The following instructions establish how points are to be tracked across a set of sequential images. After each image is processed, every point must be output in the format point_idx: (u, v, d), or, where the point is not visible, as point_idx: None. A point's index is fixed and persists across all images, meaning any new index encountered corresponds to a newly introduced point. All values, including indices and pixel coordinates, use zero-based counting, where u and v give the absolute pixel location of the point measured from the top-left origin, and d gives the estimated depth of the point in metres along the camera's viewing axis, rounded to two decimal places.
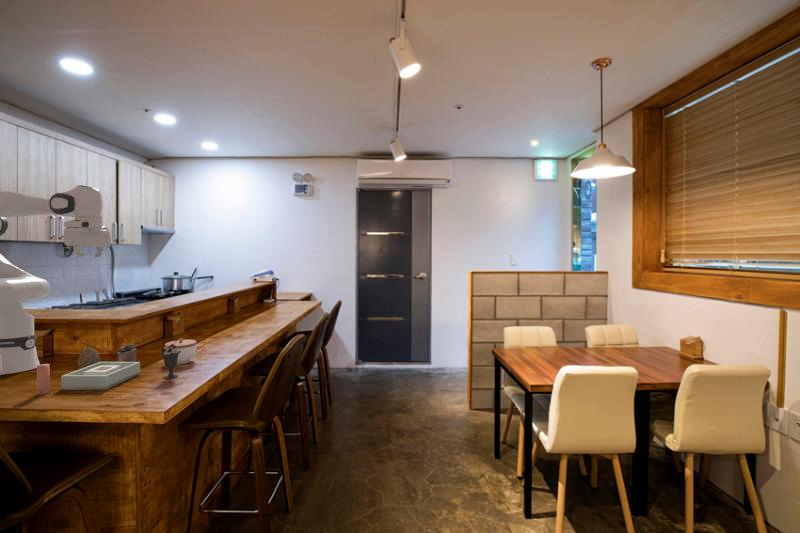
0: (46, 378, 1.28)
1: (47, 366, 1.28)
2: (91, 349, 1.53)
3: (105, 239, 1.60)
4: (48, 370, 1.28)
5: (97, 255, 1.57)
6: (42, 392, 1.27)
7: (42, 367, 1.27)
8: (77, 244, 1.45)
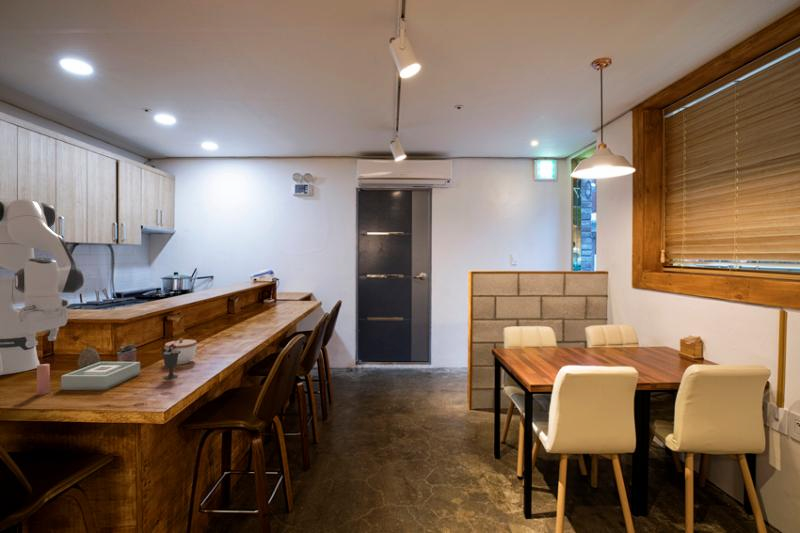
0: (46, 378, 1.28)
1: (47, 366, 1.28)
2: (91, 349, 1.53)
3: None
4: (48, 370, 1.28)
5: None
6: (42, 392, 1.27)
7: (42, 367, 1.27)
8: None
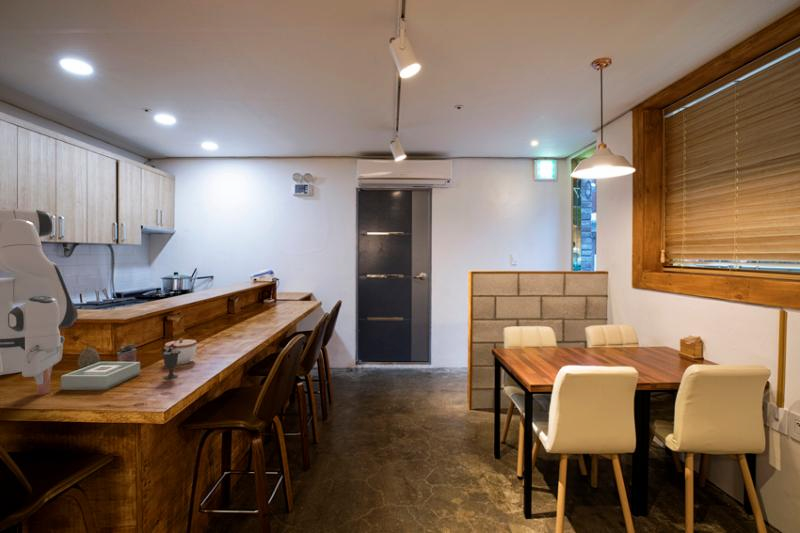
0: (46, 378, 1.28)
1: None
2: (91, 349, 1.53)
3: None
4: (48, 370, 1.28)
5: None
6: (42, 392, 1.27)
7: None
8: None
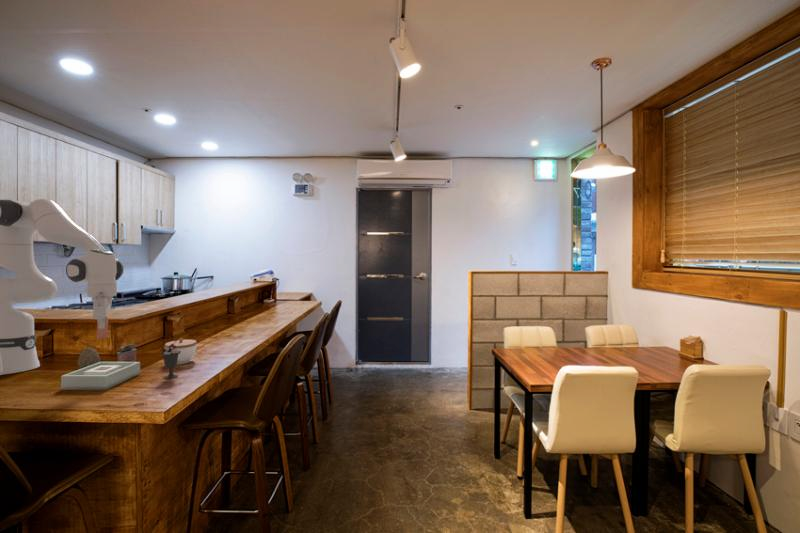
0: (106, 324, 1.40)
1: None
2: (91, 349, 1.53)
3: None
4: (107, 316, 1.41)
5: None
6: (103, 336, 1.39)
7: None
8: None
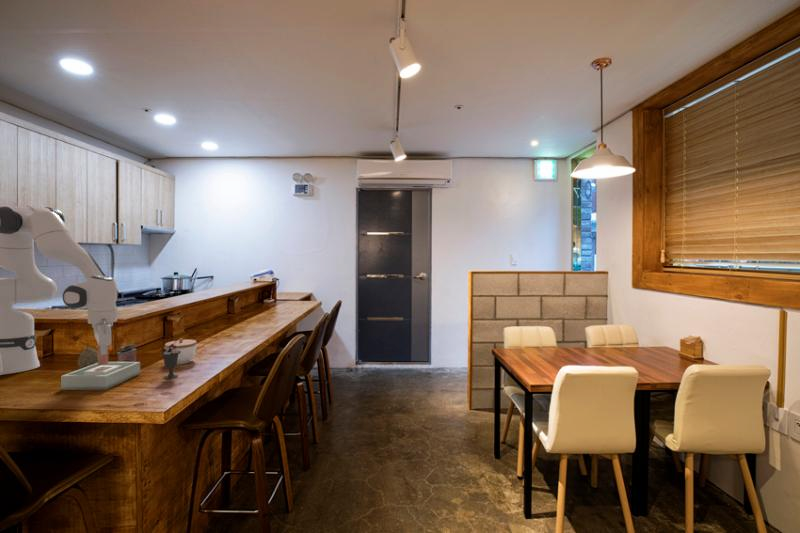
0: (107, 349, 1.41)
1: None
2: (91, 349, 1.53)
3: None
4: None
5: None
6: (104, 362, 1.40)
7: None
8: (95, 336, 1.45)
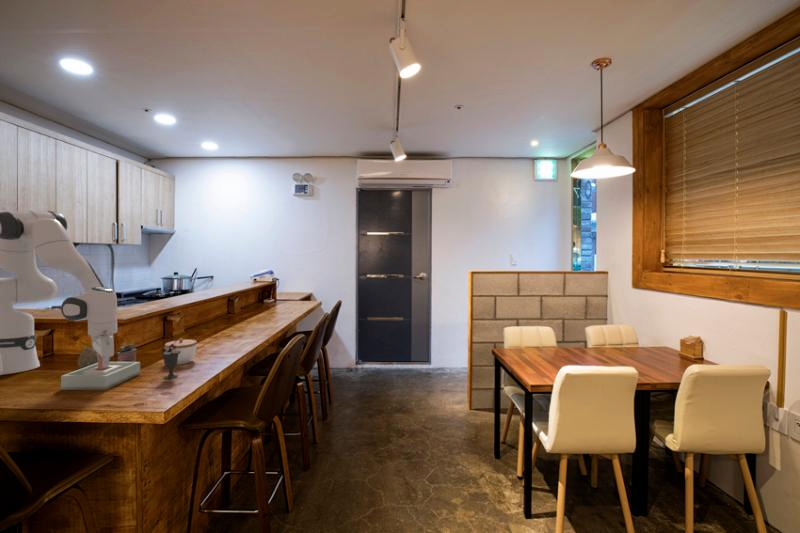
0: None
1: None
2: (91, 349, 1.53)
3: (100, 348, 1.35)
4: None
5: None
6: None
7: None
8: (93, 348, 1.45)
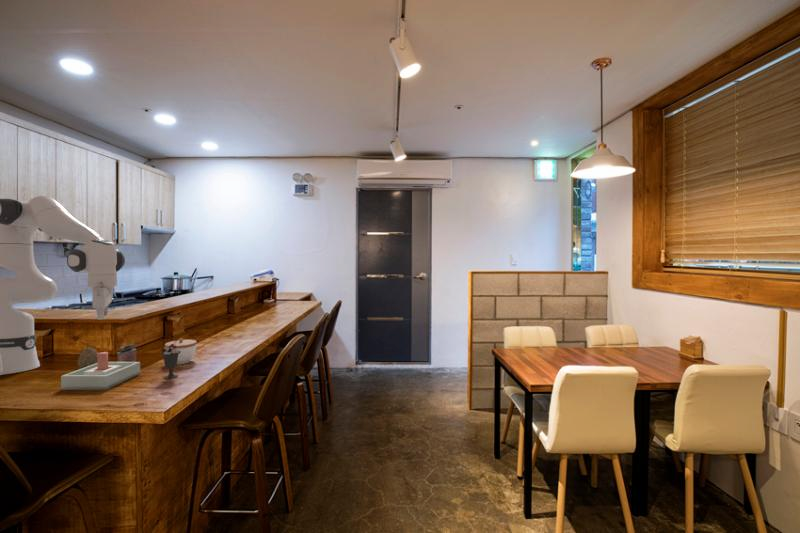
0: (107, 364, 1.41)
1: (107, 353, 1.41)
2: (91, 349, 1.53)
3: None
4: (107, 357, 1.42)
5: None
6: None
7: (104, 354, 1.40)
8: None
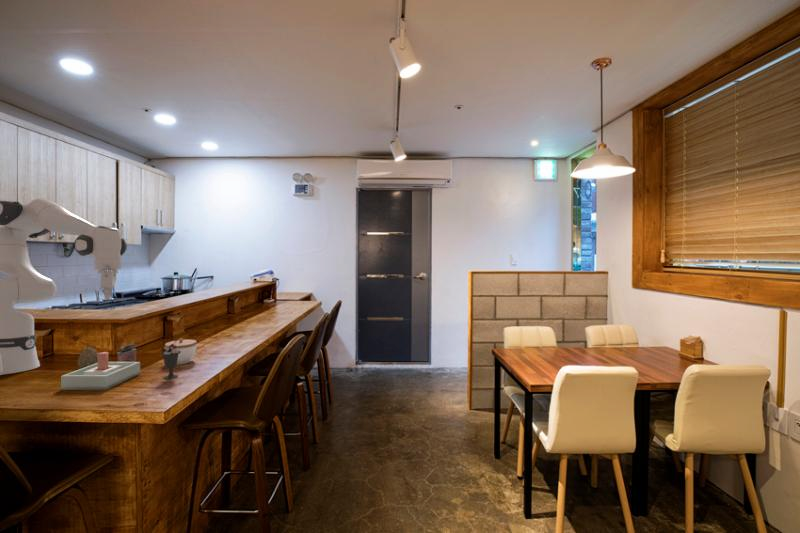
0: (107, 364, 1.41)
1: (107, 353, 1.41)
2: (91, 349, 1.53)
3: None
4: None
5: None
6: None
7: (104, 354, 1.40)
8: None
